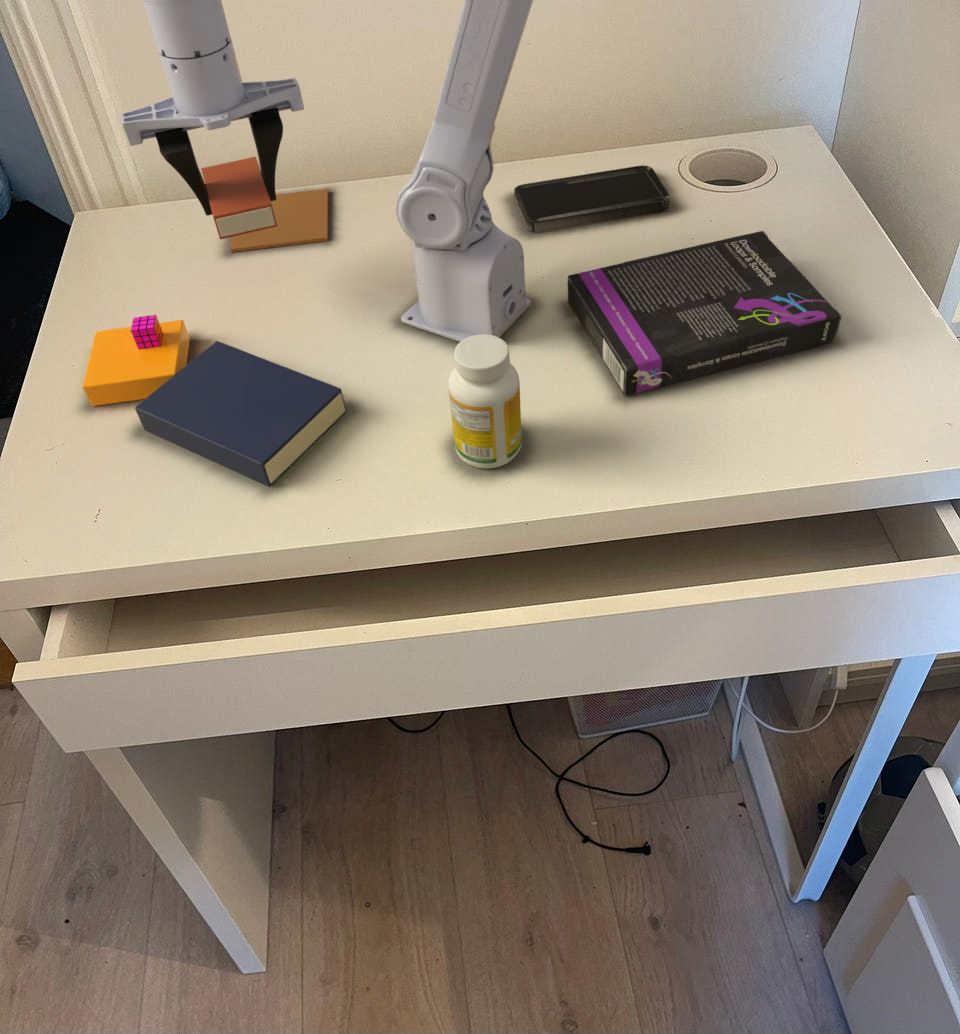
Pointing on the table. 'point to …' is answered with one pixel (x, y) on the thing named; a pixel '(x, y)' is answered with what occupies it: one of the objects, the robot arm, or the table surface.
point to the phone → (590, 198)
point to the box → (699, 311)
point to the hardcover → (242, 412)
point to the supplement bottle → (485, 402)
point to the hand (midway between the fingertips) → (239, 202)
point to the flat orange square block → (135, 360)
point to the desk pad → (291, 222)
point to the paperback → (238, 198)
